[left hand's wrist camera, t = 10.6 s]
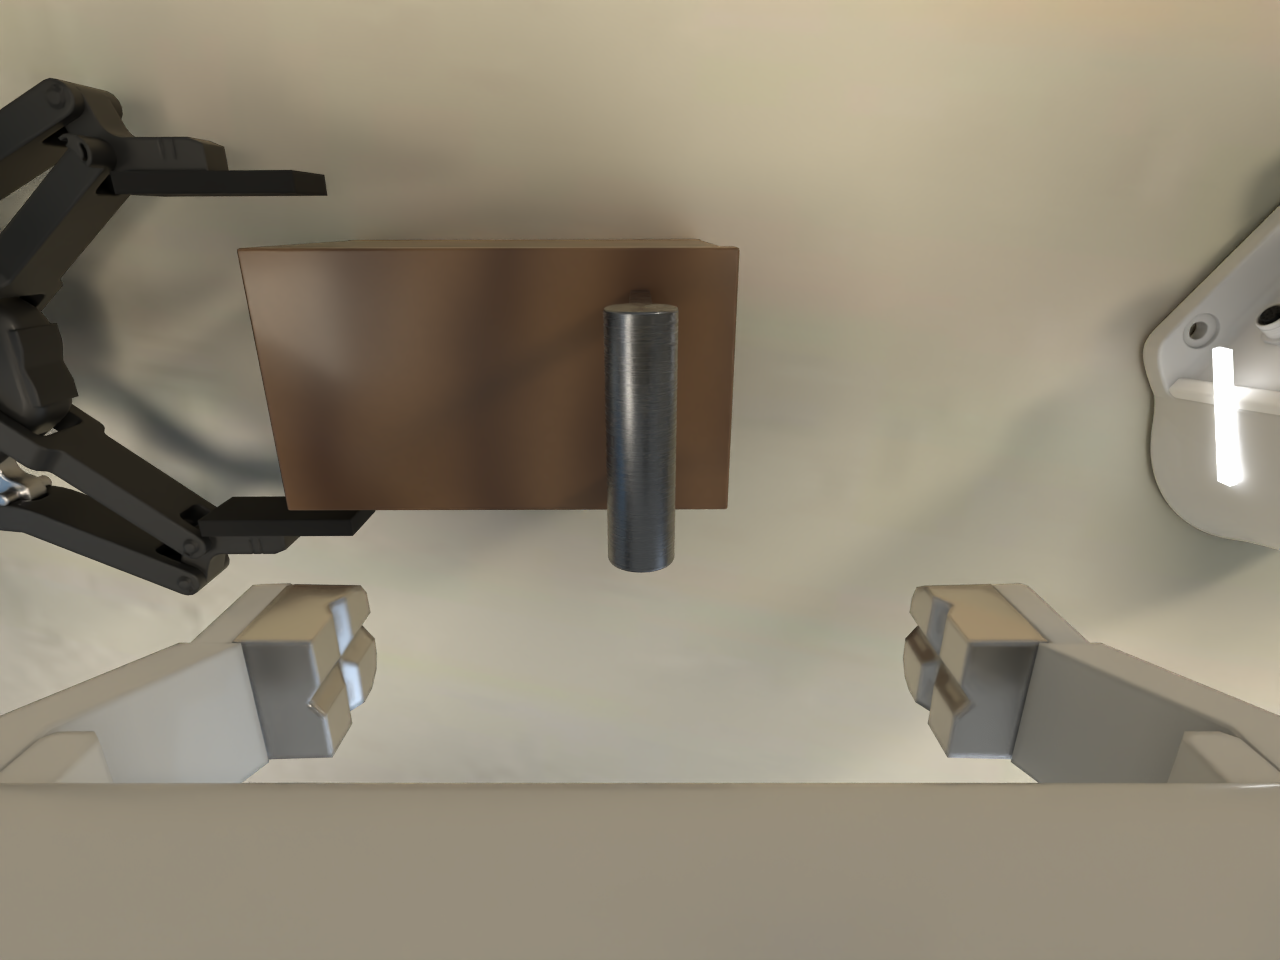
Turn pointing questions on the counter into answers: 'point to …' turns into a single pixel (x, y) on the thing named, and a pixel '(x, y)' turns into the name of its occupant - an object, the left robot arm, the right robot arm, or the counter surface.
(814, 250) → the counter surface
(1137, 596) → the counter surface
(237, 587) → the counter surface
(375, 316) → the lid
